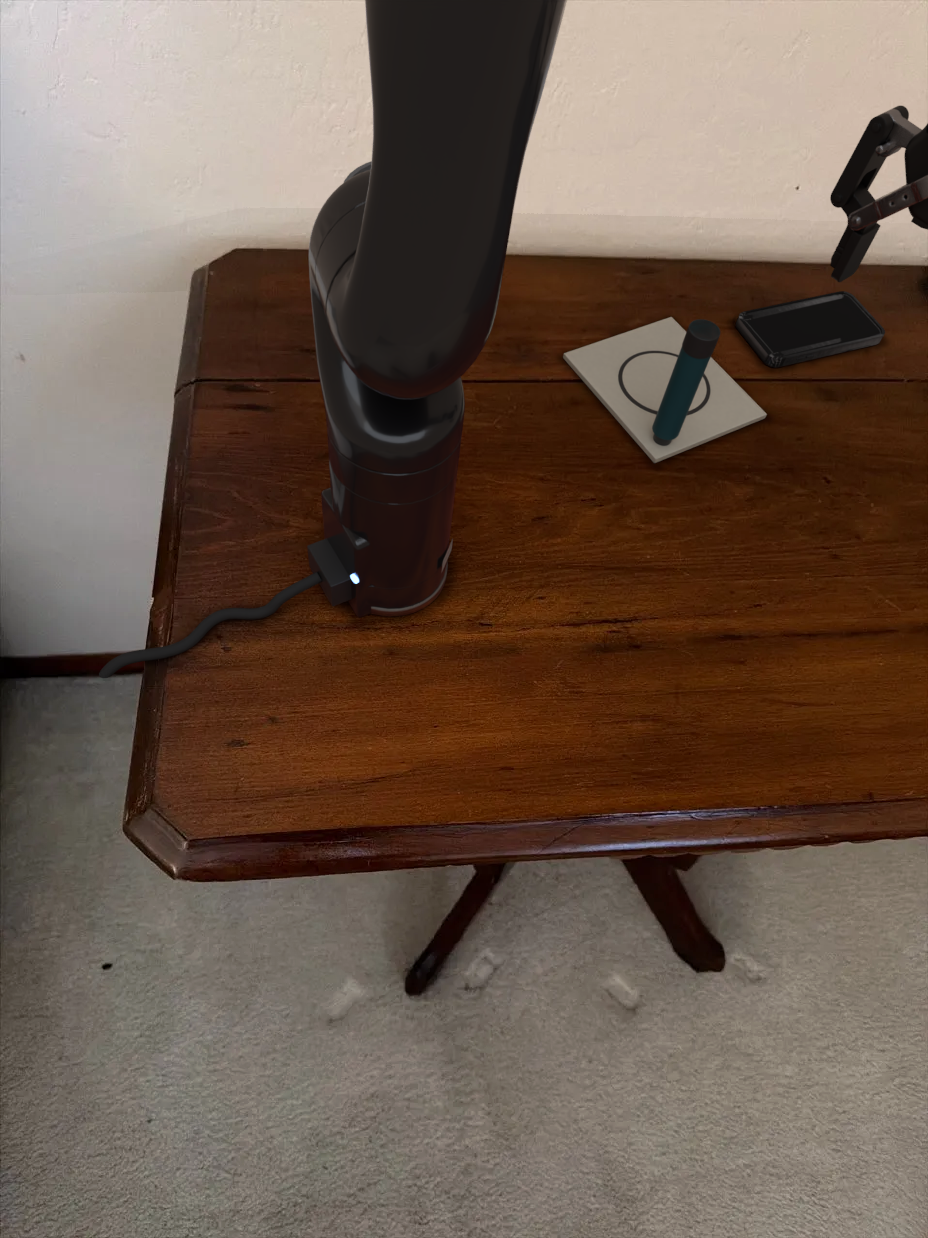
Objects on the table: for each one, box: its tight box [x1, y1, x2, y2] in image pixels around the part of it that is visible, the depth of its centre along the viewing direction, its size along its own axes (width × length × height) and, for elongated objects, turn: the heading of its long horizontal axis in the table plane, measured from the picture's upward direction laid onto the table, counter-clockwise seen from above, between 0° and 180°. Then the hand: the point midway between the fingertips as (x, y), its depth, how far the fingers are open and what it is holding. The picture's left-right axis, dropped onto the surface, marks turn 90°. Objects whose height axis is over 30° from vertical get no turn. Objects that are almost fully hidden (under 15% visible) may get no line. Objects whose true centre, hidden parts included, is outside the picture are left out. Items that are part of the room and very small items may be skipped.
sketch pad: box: [562, 316, 768, 464], centre depth 89 cm, size 14×16×1 cm
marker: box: [652, 318, 721, 446], centre depth 79 cm, size 3×3×13 cm
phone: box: [735, 290, 886, 368], centre depth 95 cm, size 8×1×15 cm
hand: (892, 310), depth 60 cm, fingers open, 8 cm apart
